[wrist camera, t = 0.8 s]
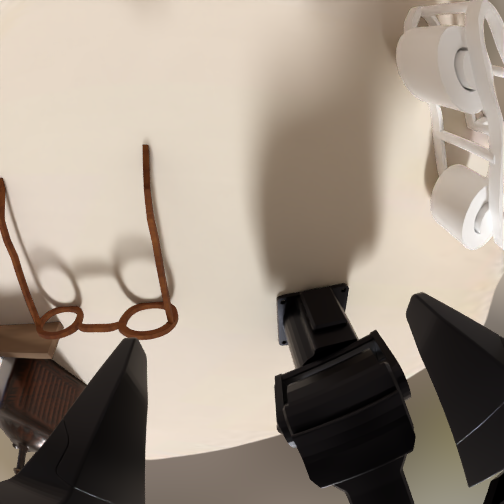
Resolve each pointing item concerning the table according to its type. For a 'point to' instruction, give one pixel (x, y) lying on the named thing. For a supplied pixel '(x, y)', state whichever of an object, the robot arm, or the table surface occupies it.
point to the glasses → (77, 324)
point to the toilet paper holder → (462, 99)
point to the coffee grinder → (34, 401)
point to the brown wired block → (27, 341)
